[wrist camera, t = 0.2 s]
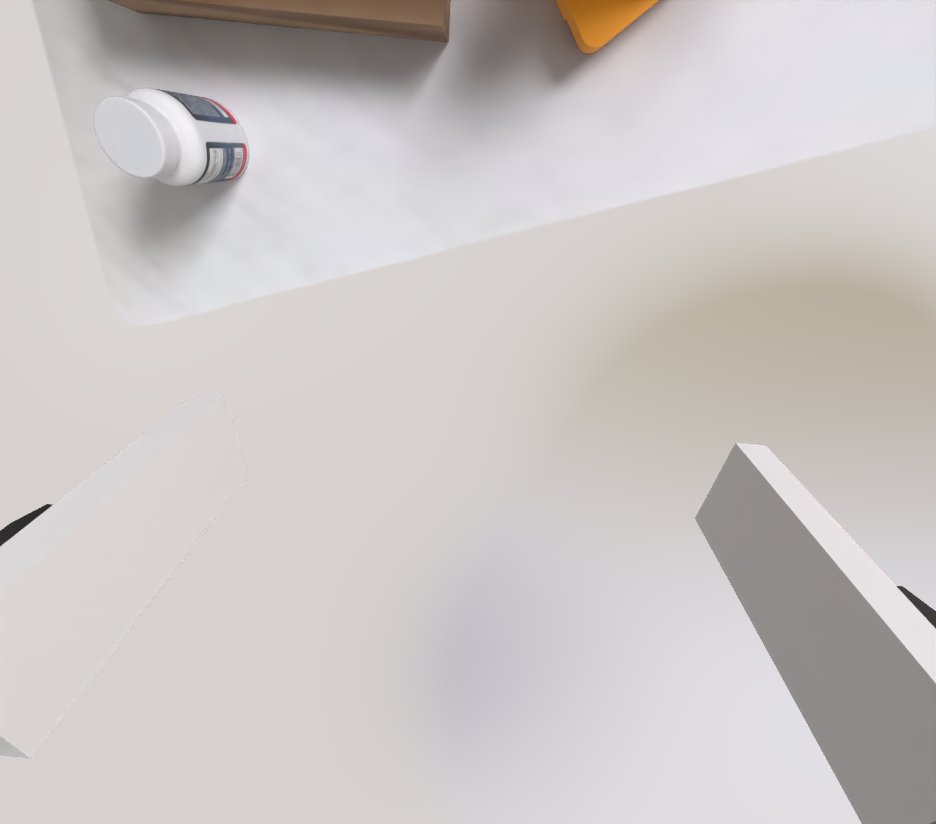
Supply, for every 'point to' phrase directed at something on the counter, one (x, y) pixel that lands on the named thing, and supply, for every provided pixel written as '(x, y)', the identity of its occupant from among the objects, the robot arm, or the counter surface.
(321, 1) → the brown open rectangular frame
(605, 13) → the bracket
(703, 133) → the counter surface
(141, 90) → the pill bottle
